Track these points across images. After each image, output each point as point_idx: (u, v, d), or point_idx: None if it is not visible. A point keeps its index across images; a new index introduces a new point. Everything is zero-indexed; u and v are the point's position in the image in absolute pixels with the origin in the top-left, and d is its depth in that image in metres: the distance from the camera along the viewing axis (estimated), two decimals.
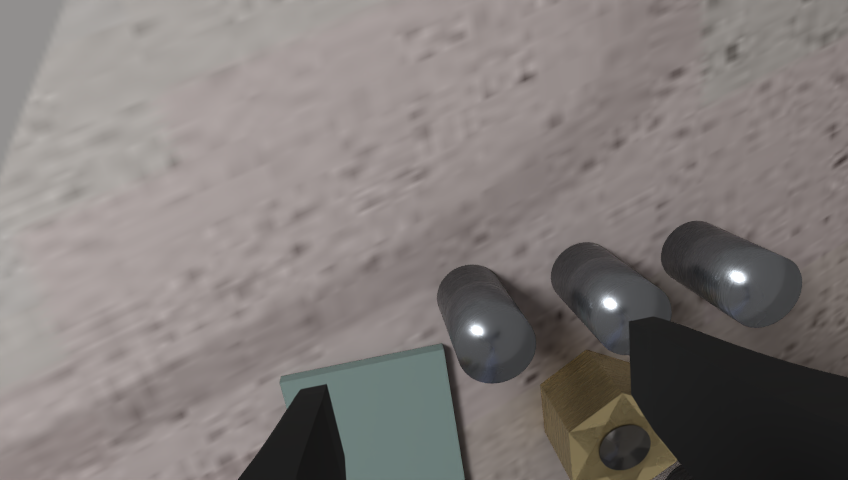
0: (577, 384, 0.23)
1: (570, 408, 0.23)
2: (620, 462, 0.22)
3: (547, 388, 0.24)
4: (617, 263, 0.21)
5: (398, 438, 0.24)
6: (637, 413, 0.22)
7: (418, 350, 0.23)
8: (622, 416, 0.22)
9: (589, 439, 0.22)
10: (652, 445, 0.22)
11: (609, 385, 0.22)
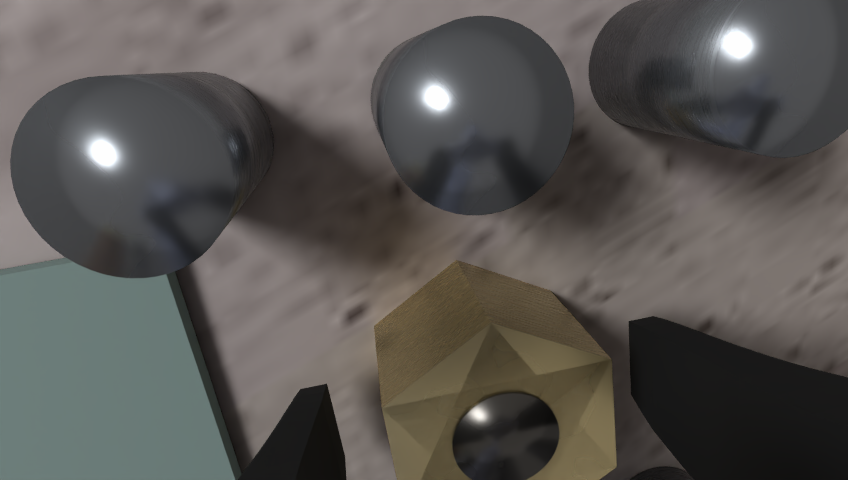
0: (425, 317, 0.12)
1: (400, 361, 0.11)
2: (499, 470, 0.11)
3: (383, 331, 0.13)
4: None
5: (96, 423, 0.13)
6: (526, 368, 0.10)
7: None
8: (495, 374, 0.10)
9: (428, 422, 0.11)
10: (563, 435, 0.11)
11: (473, 312, 0.11)
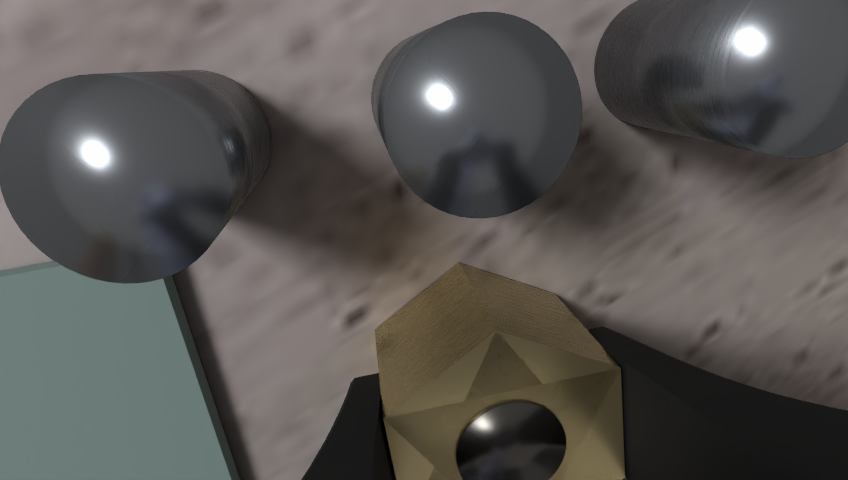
0: (428, 323, 0.12)
1: (402, 369, 0.11)
2: None
3: (384, 337, 0.13)
4: None
5: (92, 428, 0.13)
6: (533, 377, 0.10)
7: None
8: (501, 383, 0.10)
9: (431, 433, 0.10)
10: (571, 446, 0.11)
11: (477, 319, 0.10)
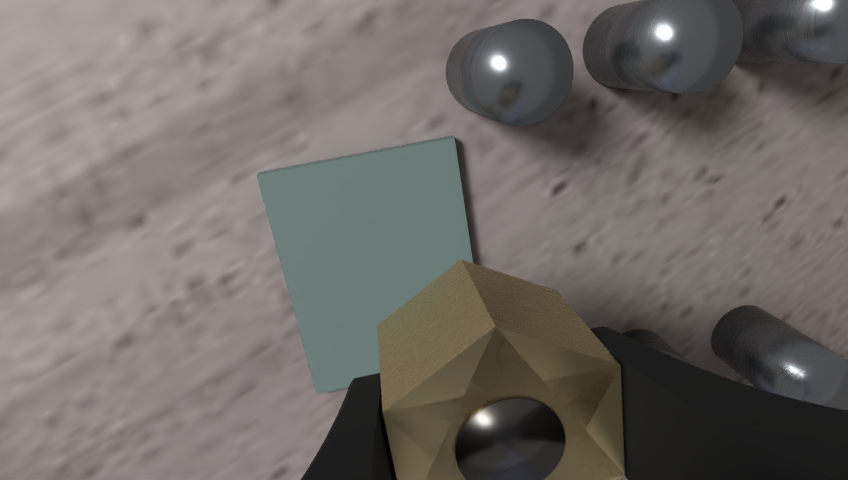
0: (429, 319, 0.12)
1: (402, 364, 0.11)
2: (503, 477, 0.11)
3: (386, 333, 0.13)
4: None
5: (402, 256, 0.20)
6: (532, 373, 0.10)
7: (424, 141, 0.19)
8: (500, 379, 0.10)
9: (431, 428, 0.10)
10: (570, 442, 0.11)
11: (477, 315, 0.10)
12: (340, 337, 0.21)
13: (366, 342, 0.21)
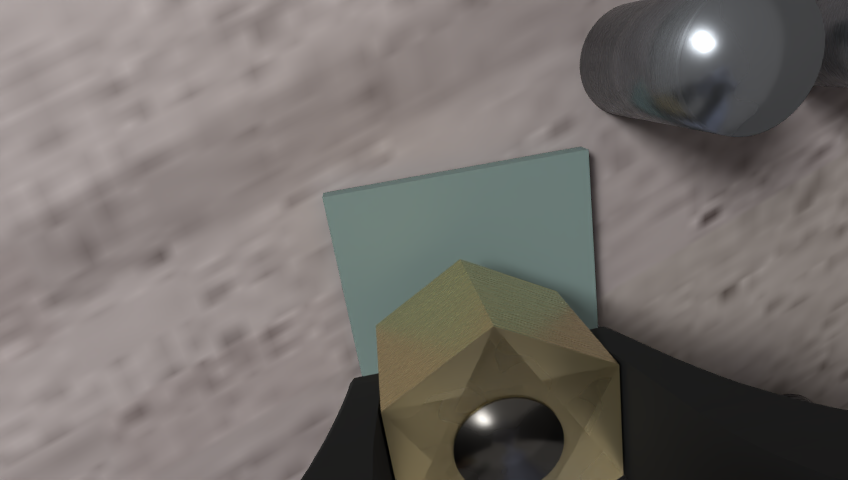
0: (428, 318, 0.12)
1: (401, 364, 0.11)
2: (501, 477, 0.11)
3: (385, 332, 0.13)
4: None
5: None
6: (530, 373, 0.10)
7: (545, 154, 0.14)
8: (498, 378, 0.10)
9: (429, 427, 0.10)
10: (569, 442, 0.11)
11: (476, 315, 0.10)
12: None
13: None
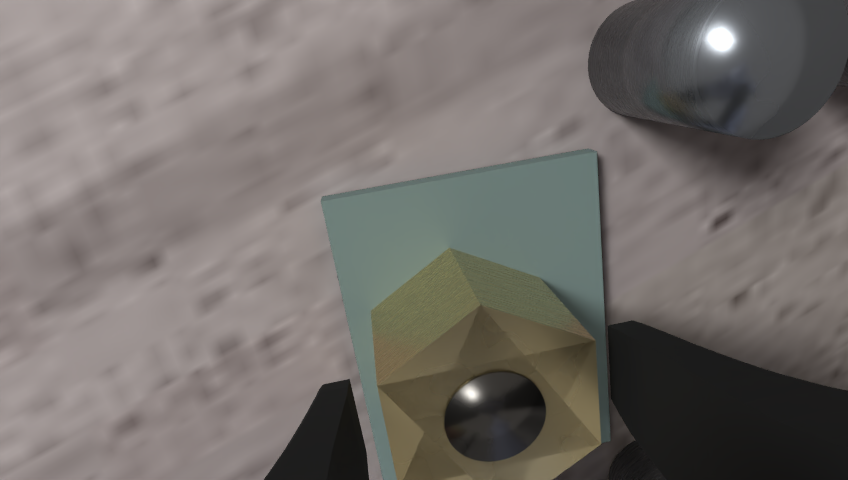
0: (419, 302, 0.13)
1: (395, 343, 0.12)
2: (488, 446, 0.12)
3: (379, 317, 0.14)
4: None
5: None
6: (514, 349, 0.11)
7: (551, 156, 0.14)
8: (485, 354, 0.11)
9: (421, 400, 0.11)
10: (550, 413, 0.12)
11: (464, 296, 0.11)
12: None
13: None
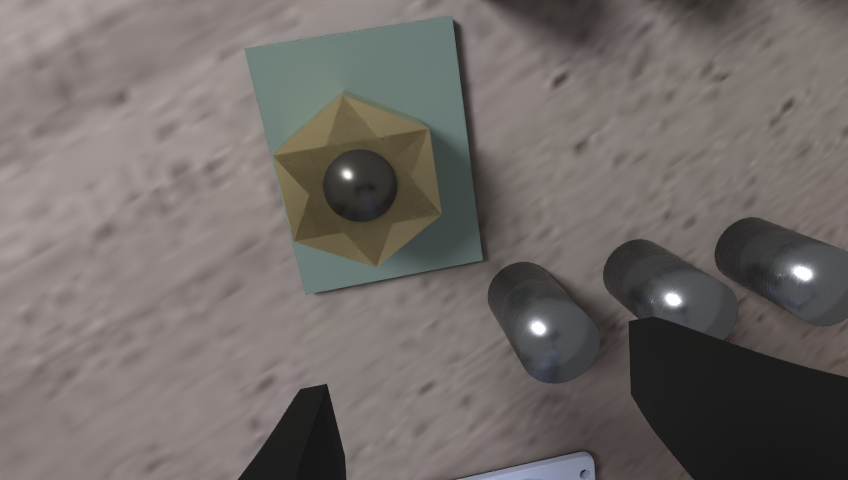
0: (314, 117, 0.17)
1: (291, 137, 0.16)
2: (357, 210, 0.16)
3: None
4: None
5: None
6: (369, 131, 0.16)
7: (420, 21, 0.18)
8: (349, 134, 0.16)
9: (305, 169, 0.16)
10: (401, 185, 0.16)
11: (337, 98, 0.16)
12: None
13: None
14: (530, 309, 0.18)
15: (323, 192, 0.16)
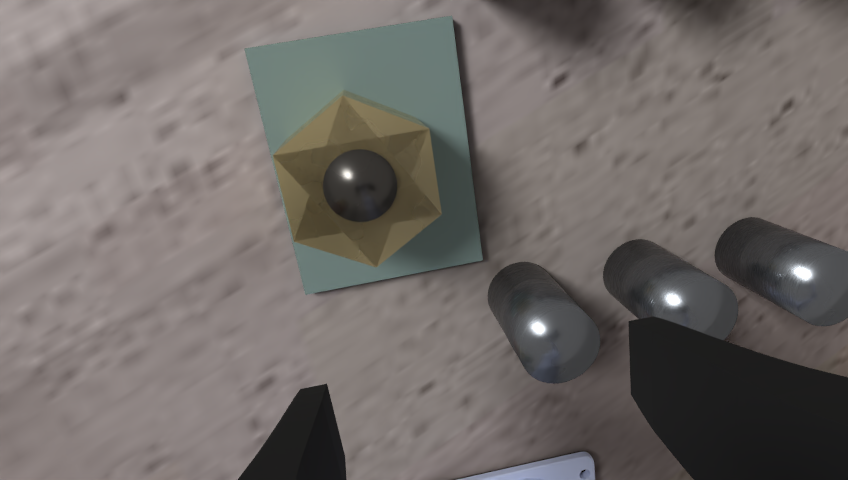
0: (314, 117, 0.17)
1: (291, 137, 0.16)
2: (357, 210, 0.16)
3: None
4: None
5: None
6: (369, 131, 0.16)
7: (420, 21, 0.18)
8: (349, 134, 0.16)
9: (305, 169, 0.16)
10: (401, 185, 0.16)
11: (337, 98, 0.16)
12: None
13: None
14: (530, 309, 0.18)
15: (323, 192, 0.16)
